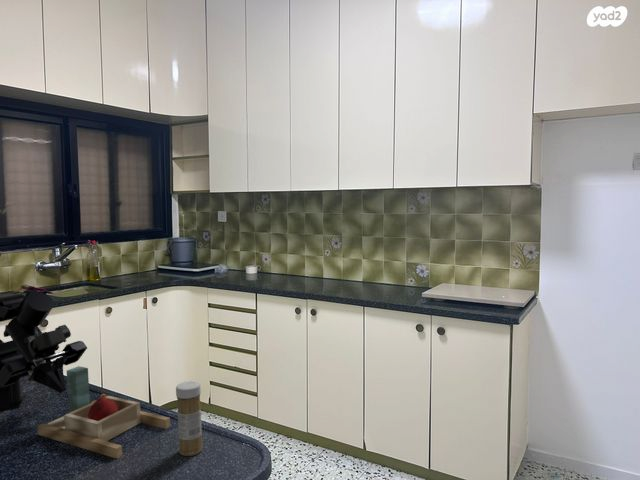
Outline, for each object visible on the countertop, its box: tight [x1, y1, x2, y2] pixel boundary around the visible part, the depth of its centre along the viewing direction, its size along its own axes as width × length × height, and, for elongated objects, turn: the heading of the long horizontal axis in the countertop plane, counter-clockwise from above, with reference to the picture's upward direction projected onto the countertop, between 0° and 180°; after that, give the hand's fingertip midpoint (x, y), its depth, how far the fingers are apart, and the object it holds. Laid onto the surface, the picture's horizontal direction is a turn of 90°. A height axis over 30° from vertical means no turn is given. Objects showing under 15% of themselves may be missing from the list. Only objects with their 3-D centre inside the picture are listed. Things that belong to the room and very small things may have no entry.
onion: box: [88, 393, 118, 421], centre depth 101 cm, size 6×6×8 cm
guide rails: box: [37, 399, 171, 460], centre depth 101 cm, size 24×14×2 cm, turn 65°
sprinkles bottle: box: [175, 380, 204, 457], centre depth 91 cm, size 5×5×14 cm
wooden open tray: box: [46, 365, 142, 442], centre depth 102 cm, size 16×11×12 cm, turn 65°
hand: (63, 391), depth 106 cm, fingers closed
